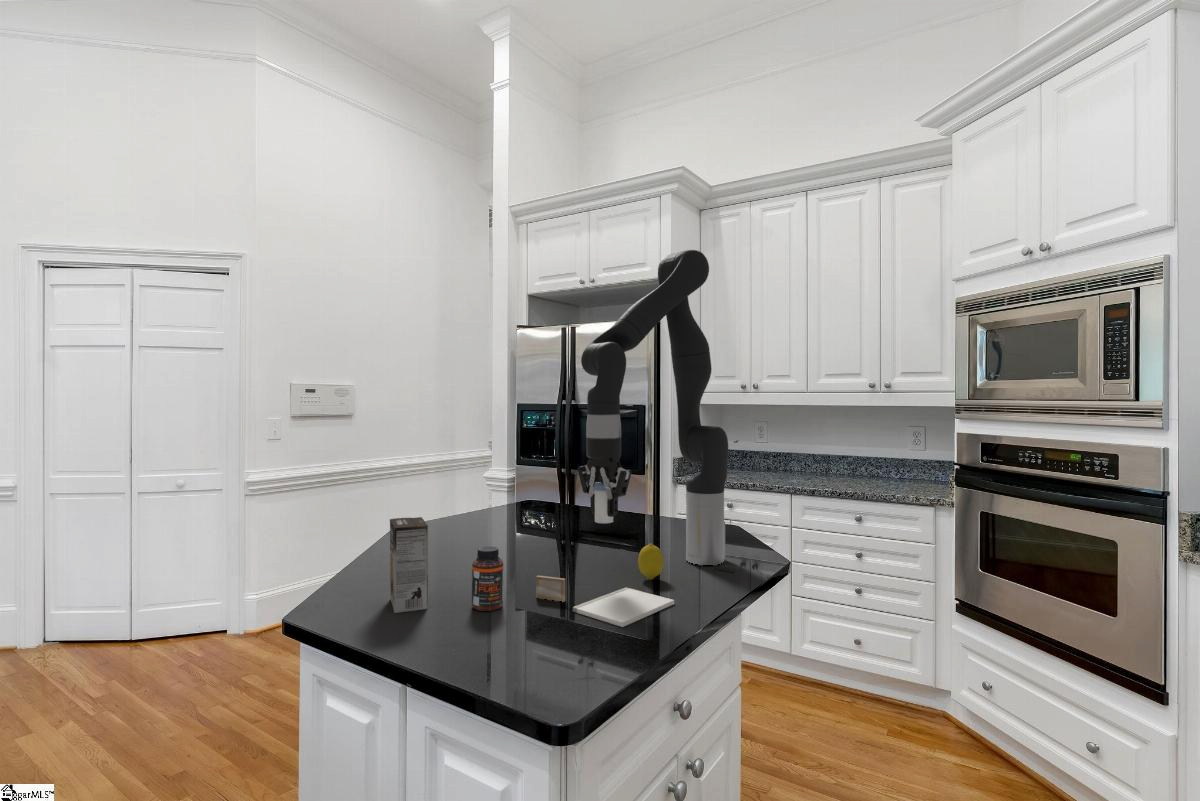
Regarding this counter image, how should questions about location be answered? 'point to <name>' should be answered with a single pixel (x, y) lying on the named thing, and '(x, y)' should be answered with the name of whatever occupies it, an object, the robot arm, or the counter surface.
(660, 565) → the lemon
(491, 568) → the supplement bottle
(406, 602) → the coffee box
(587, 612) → the paper pad
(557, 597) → the word sign
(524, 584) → the counter surface
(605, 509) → the white blue capped bottle
